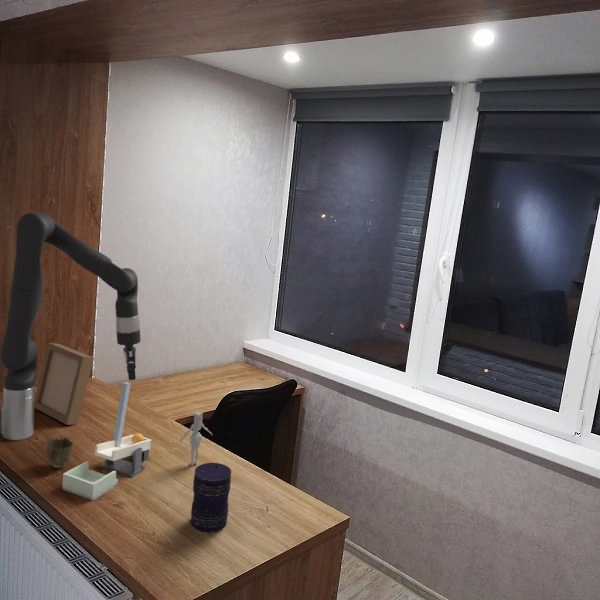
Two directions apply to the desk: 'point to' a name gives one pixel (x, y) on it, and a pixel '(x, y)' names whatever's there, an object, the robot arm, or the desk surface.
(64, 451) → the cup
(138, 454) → the stand
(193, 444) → the human figurine
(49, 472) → the desk surface
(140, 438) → the ball
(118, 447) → the lever
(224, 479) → the dark blue ridged cylinder
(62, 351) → the photo frame
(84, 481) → the tray
